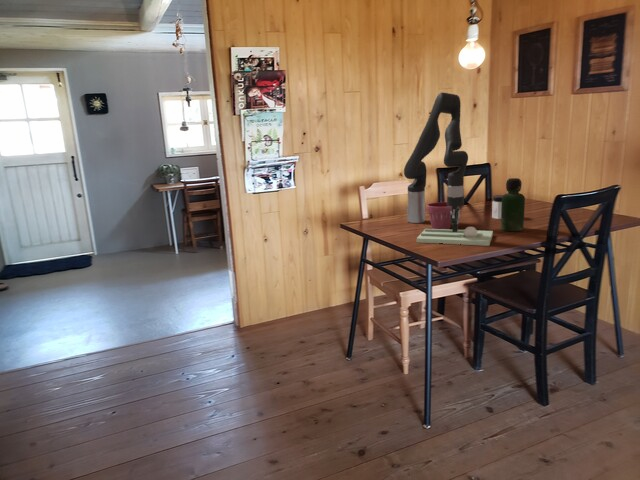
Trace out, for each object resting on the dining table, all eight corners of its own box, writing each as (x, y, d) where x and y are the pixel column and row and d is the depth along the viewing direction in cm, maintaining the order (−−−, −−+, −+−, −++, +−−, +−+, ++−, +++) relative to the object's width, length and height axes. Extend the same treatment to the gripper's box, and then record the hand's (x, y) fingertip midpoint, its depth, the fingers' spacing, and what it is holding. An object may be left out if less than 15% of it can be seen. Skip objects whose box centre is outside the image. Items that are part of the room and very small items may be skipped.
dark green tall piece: (500, 231, 230) (502, 180, 224) (500, 227, 239) (502, 177, 233) (523, 232, 226) (526, 180, 220) (523, 227, 235) (525, 177, 229)
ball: (479, 233, 214) (469, 242, 216) (480, 232, 220) (470, 241, 222) (470, 224, 215) (460, 233, 217) (471, 223, 221) (461, 232, 223)
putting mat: (416, 242, 220) (416, 236, 219) (425, 232, 237) (425, 226, 237) (489, 245, 207) (489, 239, 206) (492, 235, 224) (492, 228, 224)
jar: (488, 217, 263) (489, 196, 260) (500, 215, 266) (500, 194, 263) (500, 219, 255) (501, 198, 252) (512, 218, 258) (513, 196, 255)
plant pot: (421, 228, 247) (421, 204, 244) (443, 224, 253) (443, 200, 250) (438, 233, 235) (438, 207, 232) (461, 229, 240) (461, 204, 237)
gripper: (449, 192, 224) (449, 228, 229) (444, 197, 213) (444, 234, 217) (465, 192, 221) (465, 228, 226) (462, 197, 210) (461, 235, 214)
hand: (455, 231), depth 221 cm, fingers closed
